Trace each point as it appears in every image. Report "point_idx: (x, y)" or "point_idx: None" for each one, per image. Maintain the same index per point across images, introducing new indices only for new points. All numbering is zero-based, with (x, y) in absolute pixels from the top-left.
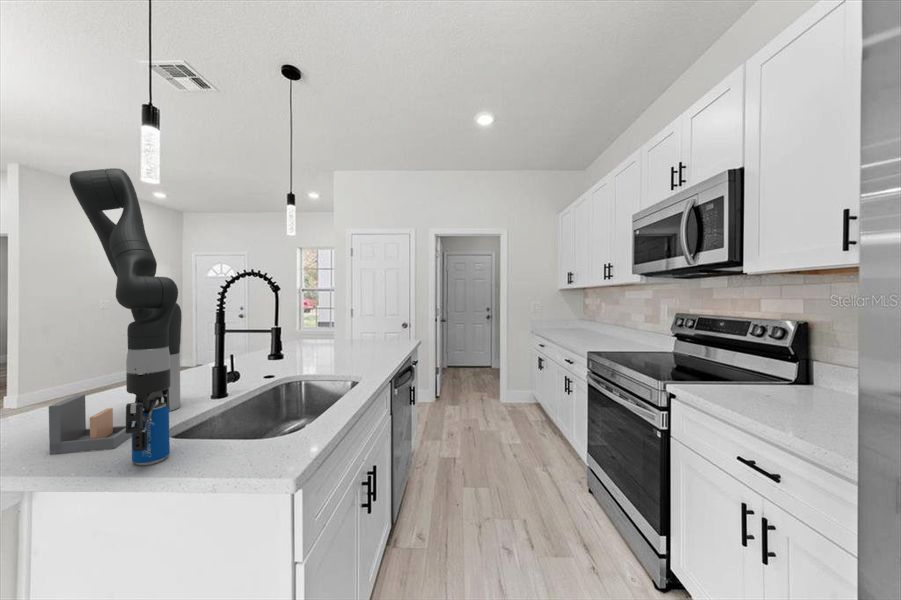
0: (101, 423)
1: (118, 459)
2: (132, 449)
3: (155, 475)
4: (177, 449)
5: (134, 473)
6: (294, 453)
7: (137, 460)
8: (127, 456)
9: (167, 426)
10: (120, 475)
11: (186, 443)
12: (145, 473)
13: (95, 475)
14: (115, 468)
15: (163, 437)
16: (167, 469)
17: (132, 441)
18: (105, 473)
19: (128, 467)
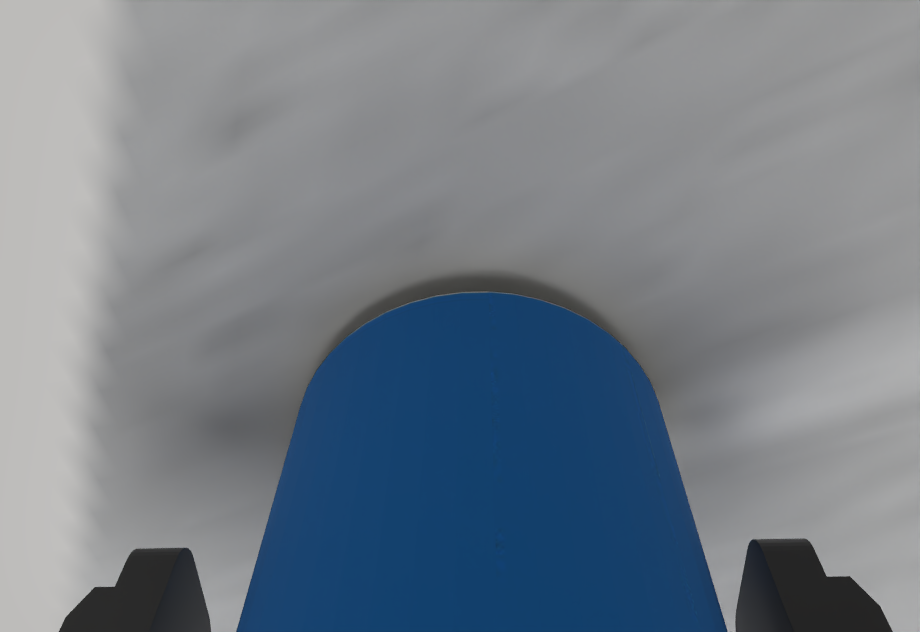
0: None
1: (639, 25)
2: (329, 434)
3: (95, 577)
4: (734, 542)
5: (149, 406)
6: None
7: (299, 415)
8: (719, 98)
9: None
10: (106, 300)
11: (899, 565)
12: (142, 493)
13: (119, 9)
14: (313, 148)
15: None
16: (215, 615)
17: (303, 528)
18: (171, 106)
19: (318, 282)
